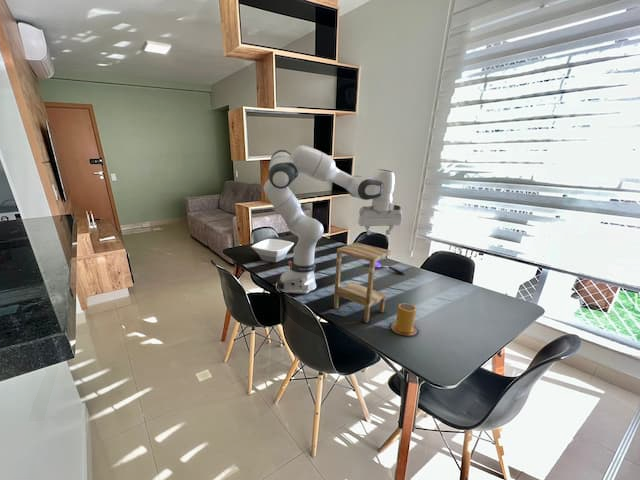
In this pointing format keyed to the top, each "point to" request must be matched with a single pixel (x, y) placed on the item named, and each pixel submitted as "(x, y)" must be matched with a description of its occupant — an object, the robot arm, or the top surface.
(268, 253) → the bowl
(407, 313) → the cup
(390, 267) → the spatula
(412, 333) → the coaster
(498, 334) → the top surface
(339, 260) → the rack
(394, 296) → the top surface
